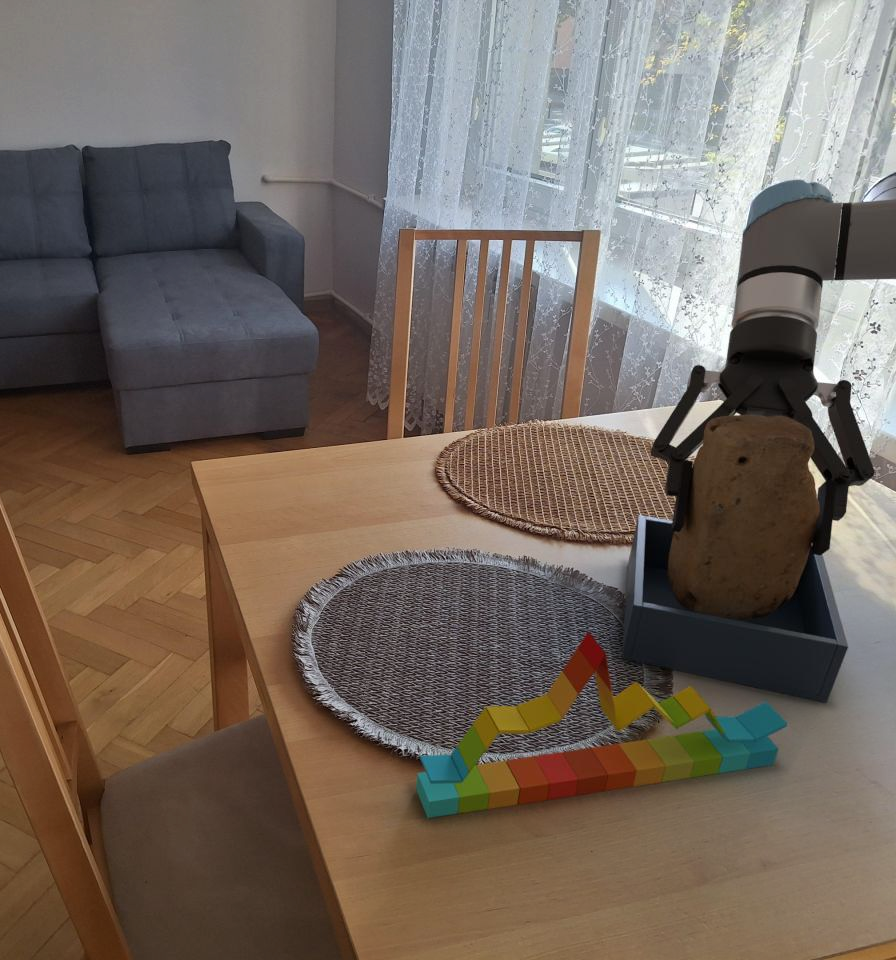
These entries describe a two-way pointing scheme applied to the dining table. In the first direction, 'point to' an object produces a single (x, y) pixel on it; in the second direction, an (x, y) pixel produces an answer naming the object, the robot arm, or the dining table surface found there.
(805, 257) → the robot arm
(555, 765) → the chart
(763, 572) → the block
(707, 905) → the dining table surface
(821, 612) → the grey storage tray
